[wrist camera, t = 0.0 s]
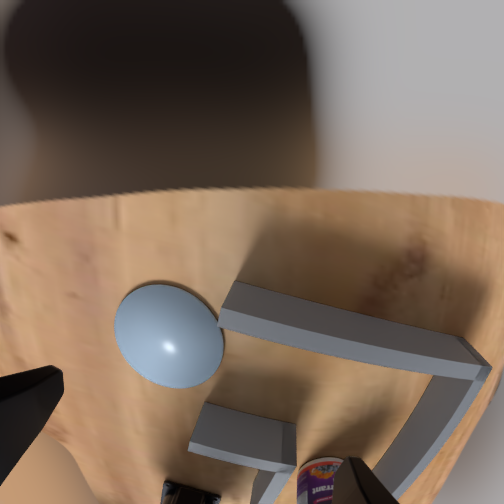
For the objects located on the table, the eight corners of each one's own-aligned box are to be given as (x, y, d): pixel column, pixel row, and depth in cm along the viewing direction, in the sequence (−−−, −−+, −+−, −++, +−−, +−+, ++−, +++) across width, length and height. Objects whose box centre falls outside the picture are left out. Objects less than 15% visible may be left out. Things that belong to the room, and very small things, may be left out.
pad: (211, 399, 25) (210, 401, 25) (113, 364, 25) (111, 366, 25) (236, 304, 23) (235, 306, 23) (121, 269, 23) (119, 270, 23)
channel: (361, 496, 27) (366, 529, 22) (188, 467, 27) (176, 502, 22) (463, 337, 22) (492, 367, 17) (234, 280, 22) (221, 307, 18)
